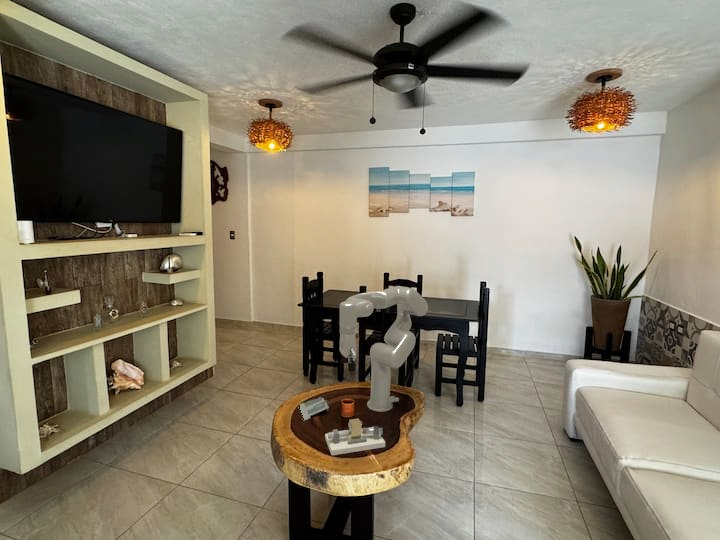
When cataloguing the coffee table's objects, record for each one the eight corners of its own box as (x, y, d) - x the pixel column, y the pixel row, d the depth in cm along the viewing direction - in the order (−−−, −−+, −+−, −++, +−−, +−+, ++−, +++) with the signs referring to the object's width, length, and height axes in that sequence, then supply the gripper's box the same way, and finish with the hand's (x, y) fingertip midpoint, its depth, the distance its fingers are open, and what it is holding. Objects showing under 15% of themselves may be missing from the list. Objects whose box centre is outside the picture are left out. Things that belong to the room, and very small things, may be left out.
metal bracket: (322, 391, 182) (330, 405, 168) (325, 402, 183) (333, 416, 169) (294, 403, 178) (300, 418, 164) (298, 413, 179) (304, 429, 165)
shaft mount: (375, 431, 157) (375, 418, 157) (385, 446, 146) (385, 433, 145) (325, 438, 151) (325, 425, 150) (331, 455, 140) (331, 441, 139)
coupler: (360, 434, 151) (360, 418, 150) (362, 439, 147) (363, 423, 147) (346, 436, 149) (347, 419, 149) (349, 441, 146) (349, 424, 145)
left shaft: (362, 439, 147) (362, 430, 147) (362, 434, 151) (362, 425, 151) (382, 439, 148) (382, 430, 147) (381, 434, 151) (382, 425, 151)
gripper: (334, 325, 167) (334, 361, 169) (346, 336, 151) (346, 375, 153) (350, 323, 169) (350, 359, 172) (363, 334, 153) (363, 373, 155)
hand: (348, 366), depth 162 cm, fingers open, 9 cm apart
